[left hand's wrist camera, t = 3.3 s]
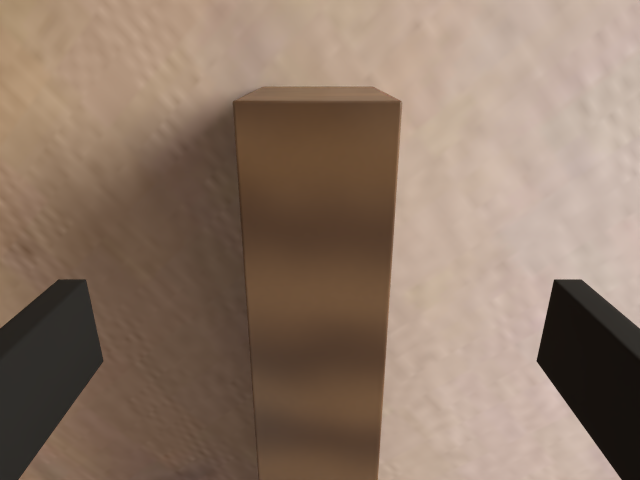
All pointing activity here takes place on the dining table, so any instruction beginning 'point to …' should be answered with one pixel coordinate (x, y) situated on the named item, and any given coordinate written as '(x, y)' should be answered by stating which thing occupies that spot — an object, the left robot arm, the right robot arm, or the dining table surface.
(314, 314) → the bar
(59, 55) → the dining table surface
